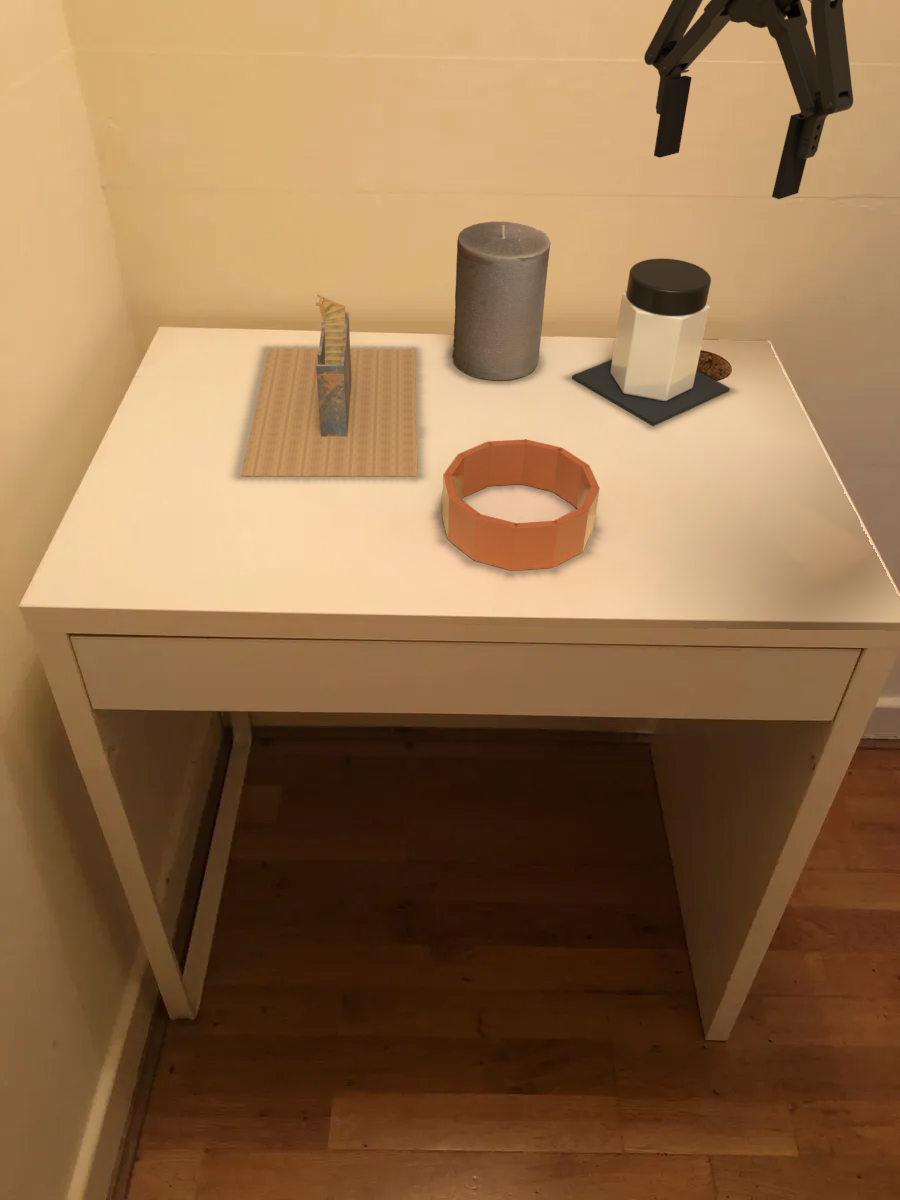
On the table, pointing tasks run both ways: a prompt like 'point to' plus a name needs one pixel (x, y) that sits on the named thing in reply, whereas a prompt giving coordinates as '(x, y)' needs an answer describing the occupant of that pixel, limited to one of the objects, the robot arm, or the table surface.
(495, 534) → the ring
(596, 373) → the mat
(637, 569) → the table surface
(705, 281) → the jar
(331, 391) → the ruin model on sheet
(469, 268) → the pillar candle
